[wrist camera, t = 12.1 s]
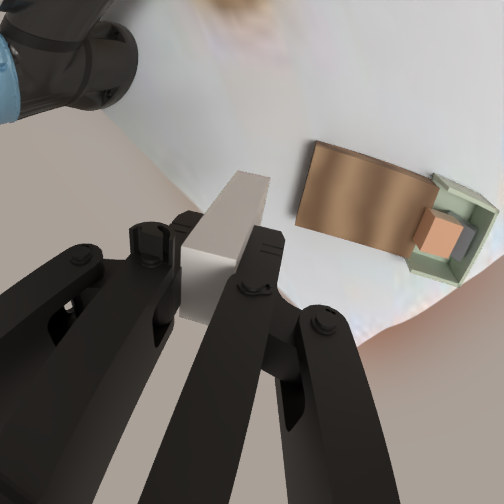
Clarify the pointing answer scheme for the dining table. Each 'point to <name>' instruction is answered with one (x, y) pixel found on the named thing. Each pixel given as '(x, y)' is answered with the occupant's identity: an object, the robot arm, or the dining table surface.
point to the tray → (471, 210)
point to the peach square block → (437, 233)
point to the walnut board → (364, 199)
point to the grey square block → (463, 237)
